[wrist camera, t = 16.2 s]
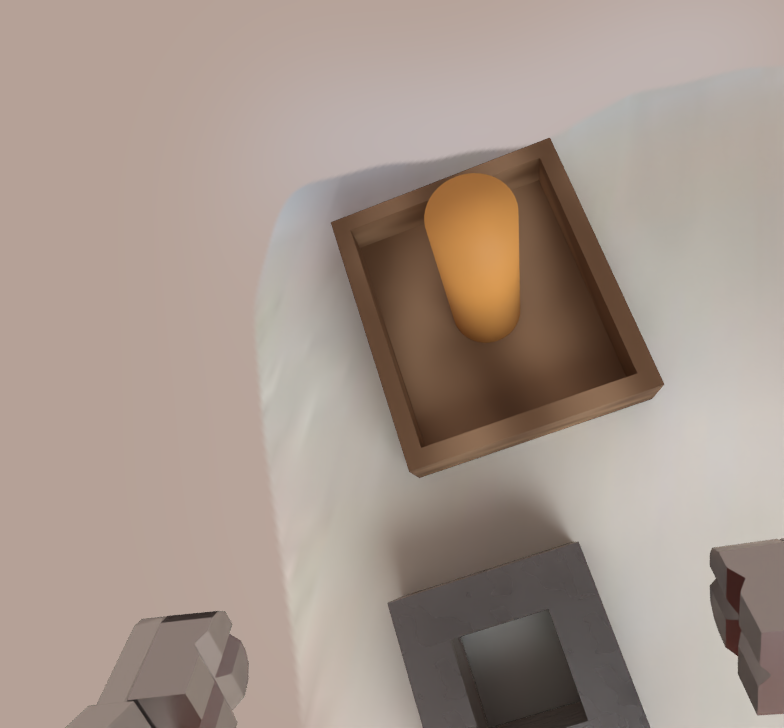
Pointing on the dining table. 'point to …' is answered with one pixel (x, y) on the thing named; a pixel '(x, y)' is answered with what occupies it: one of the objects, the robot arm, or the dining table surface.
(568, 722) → the bracket
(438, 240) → the pin
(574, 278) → the walnut tray
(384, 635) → the dining table surface
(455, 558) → the dining table surface
